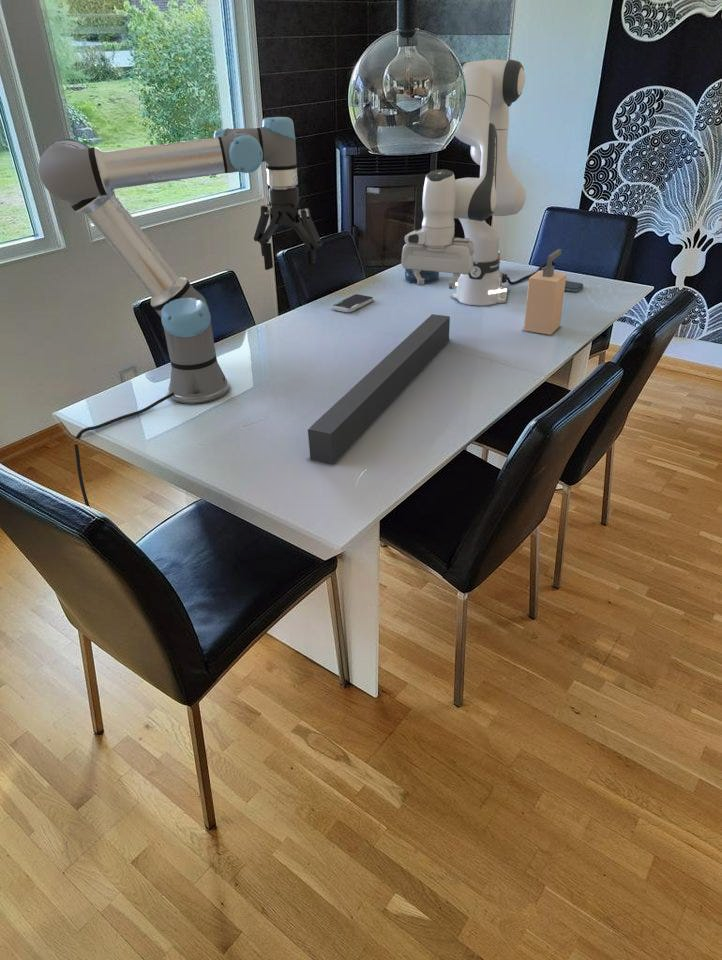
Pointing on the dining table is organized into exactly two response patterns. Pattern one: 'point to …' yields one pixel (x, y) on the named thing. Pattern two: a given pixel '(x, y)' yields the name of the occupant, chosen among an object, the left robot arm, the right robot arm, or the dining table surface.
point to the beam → (376, 391)
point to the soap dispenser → (545, 299)
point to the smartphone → (352, 303)
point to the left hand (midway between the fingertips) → (289, 271)
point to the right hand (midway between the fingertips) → (436, 286)
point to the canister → (427, 275)
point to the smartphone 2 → (573, 286)
